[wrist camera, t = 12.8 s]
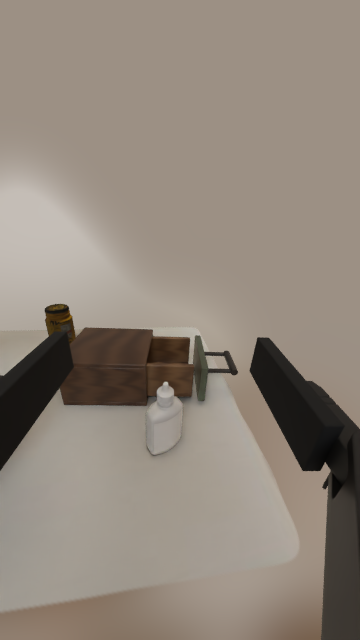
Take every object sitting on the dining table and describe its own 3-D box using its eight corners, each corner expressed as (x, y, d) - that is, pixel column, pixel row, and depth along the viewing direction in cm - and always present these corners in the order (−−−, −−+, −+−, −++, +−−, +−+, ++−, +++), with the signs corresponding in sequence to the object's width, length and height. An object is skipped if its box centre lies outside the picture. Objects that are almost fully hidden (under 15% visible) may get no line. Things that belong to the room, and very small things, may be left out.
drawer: (223, 363, 52) (228, 336, 48) (237, 401, 40) (244, 369, 37) (139, 361, 51) (138, 333, 47) (129, 399, 39) (127, 366, 36)
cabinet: (153, 363, 52) (152, 329, 48) (146, 405, 39) (145, 365, 35) (90, 361, 51) (85, 327, 47) (63, 404, 39) (53, 363, 35)
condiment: (76, 339, 60) (69, 301, 55) (82, 353, 54) (75, 311, 49) (48, 345, 57) (37, 305, 52) (50, 361, 50) (39, 317, 45)
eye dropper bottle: (183, 453, 31) (188, 394, 26) (146, 456, 31) (144, 396, 26) (179, 428, 35) (183, 372, 30) (147, 430, 35) (145, 374, 30)
